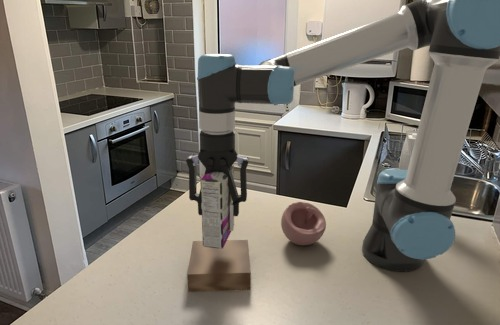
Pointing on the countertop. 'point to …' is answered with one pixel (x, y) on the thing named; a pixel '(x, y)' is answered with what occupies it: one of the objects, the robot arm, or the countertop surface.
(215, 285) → the walnut block
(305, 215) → the mortar and pestle
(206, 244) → the candy bar box
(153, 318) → the countertop surface
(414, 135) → the skyscraper
